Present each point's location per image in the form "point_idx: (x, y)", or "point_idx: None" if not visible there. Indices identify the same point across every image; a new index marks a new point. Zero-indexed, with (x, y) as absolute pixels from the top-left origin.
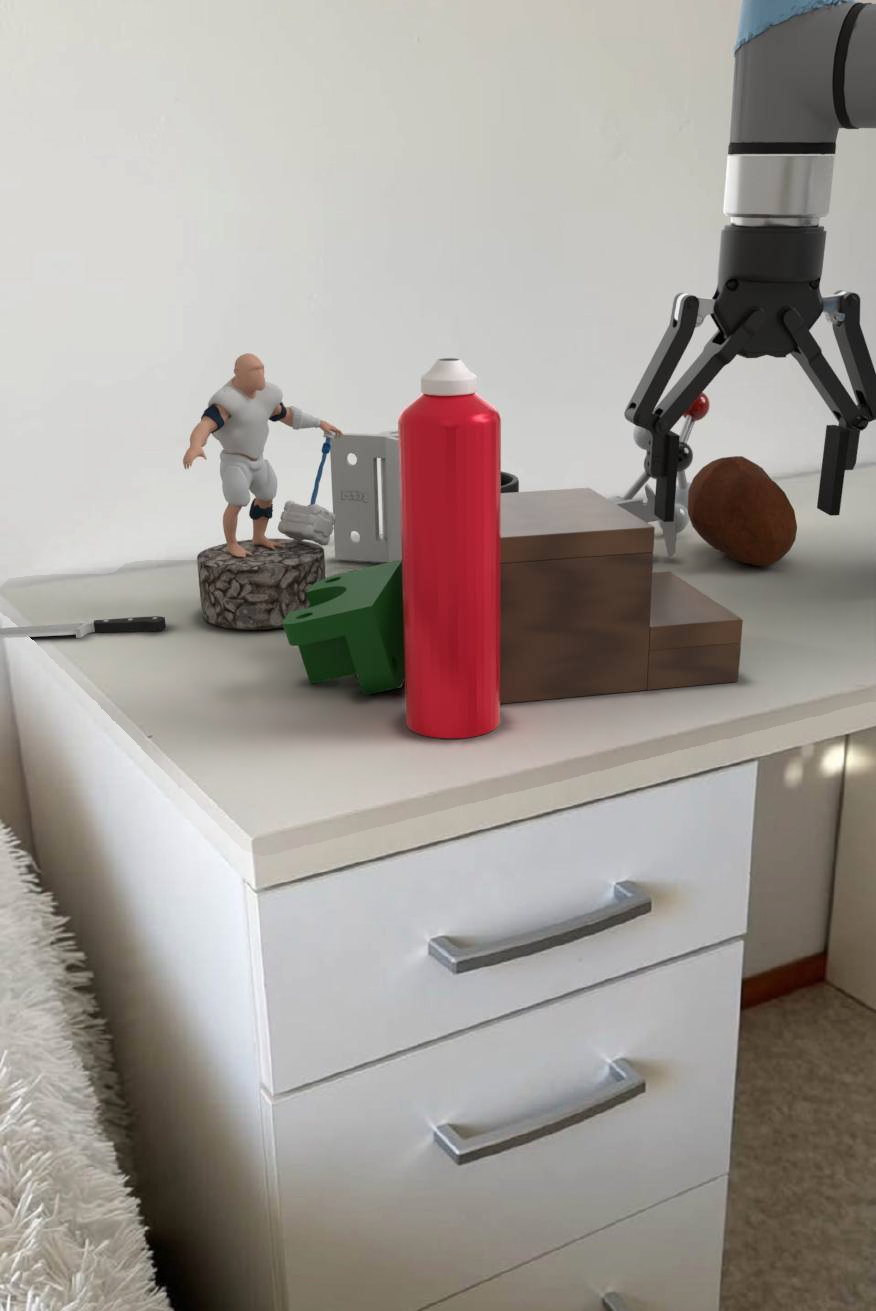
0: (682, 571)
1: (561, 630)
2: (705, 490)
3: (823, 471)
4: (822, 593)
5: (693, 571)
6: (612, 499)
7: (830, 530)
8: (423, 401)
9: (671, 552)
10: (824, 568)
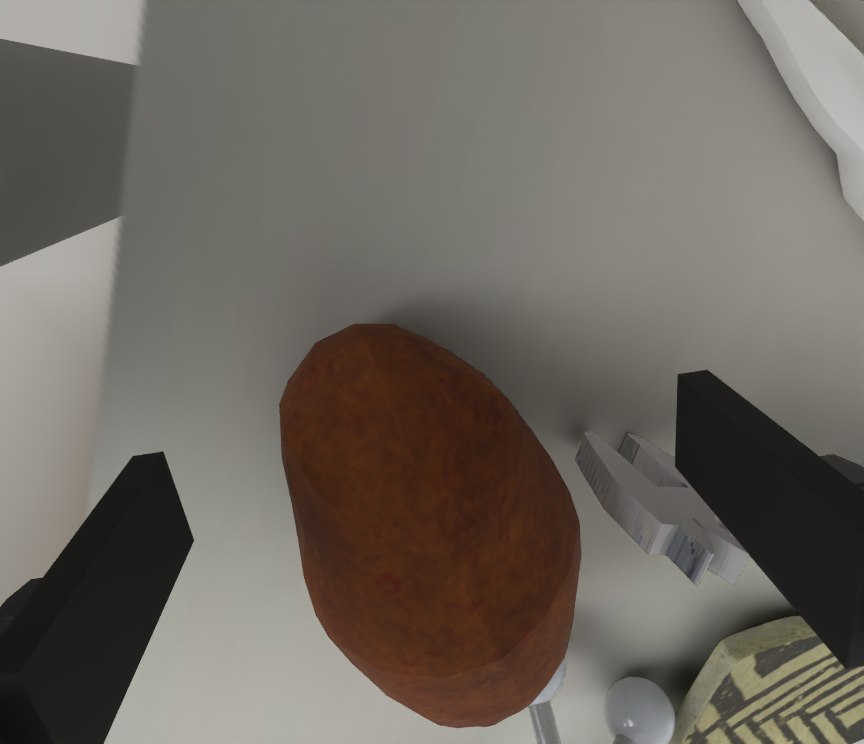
0: (582, 338)
1: None
2: (563, 536)
3: (148, 611)
4: (258, 78)
5: (556, 337)
6: (662, 732)
7: (147, 673)
8: None
9: (592, 437)
10: (211, 348)
